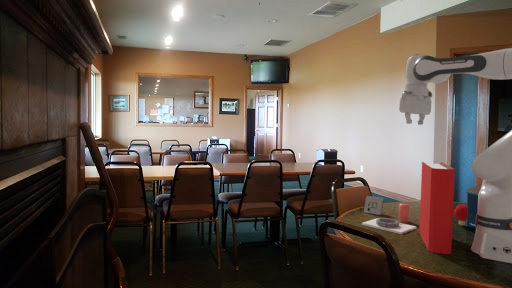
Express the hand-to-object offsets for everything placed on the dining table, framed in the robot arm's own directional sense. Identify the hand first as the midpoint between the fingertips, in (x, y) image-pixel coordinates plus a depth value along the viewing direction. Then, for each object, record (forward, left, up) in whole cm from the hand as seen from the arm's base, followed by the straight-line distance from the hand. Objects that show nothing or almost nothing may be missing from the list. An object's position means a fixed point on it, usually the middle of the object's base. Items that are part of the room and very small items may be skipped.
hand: (414, 124), depth 165 cm
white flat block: (+12, -2, -48) cm, 50 cm away
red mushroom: (-10, -31, -49) cm, 59 cm away
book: (-12, +5, -49) cm, 50 cm away
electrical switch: (+31, -21, -49) cm, 61 cm away
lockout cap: (+12, -17, -49) cm, 53 cm away
